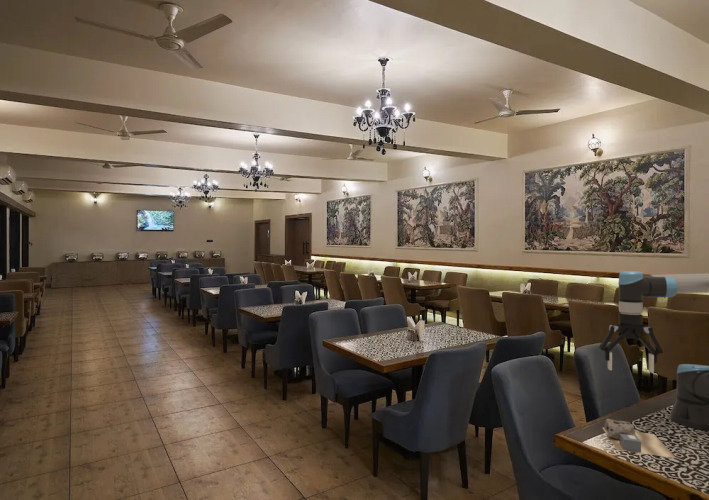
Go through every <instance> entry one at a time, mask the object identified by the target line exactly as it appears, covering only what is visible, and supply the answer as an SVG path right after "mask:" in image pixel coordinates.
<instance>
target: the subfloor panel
mask: <svg viewBox="0 0 709 500" xmlns="http://www.w3.org/2000/svg"><path fill="white" fill-rule="evenodd" d="M601 429H603V432H605V435H606V436H607V438H608V439H609V440H610V441H611V443H612V445H613V446H614V448H615V449H616V451H624V452H630V453H636V454H637V453H638V454H645V455H652V456H657V457H663V458H664V457H665V458H670V459H671V458H673V459H677V457H676V455H674V454H673V453H672V452H671V450H669V449H668V447H667V446H666V445H665V444H664V443H663V442H662V440H660V439H659V438H658V437H657V435H655V434H654V433H649V432H648V433H647V432H640V431H635V434H636V436H637V437H638V438H639V440H640V441H641V452H634V451H627V450H623V448H622V447H621V445H620V444H619V441H620V439H615V438H612V437H610V436H609V435H608V433H609V431H608V430H605V429H604V427H603V426H602V427H601Z"/></svg>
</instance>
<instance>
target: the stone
mask: <svg viewBox="0 0 709 500" xmlns="http://www.w3.org/2000/svg"><path fill="white" fill-rule="evenodd" d="M604 429H605V430H608V431H609V433H608V435H609V436H610V437H612V438H615V439H620V434H626V435H633V436H636V434H635V432H636V430H635V427H634V425H633V424H631V422H629V421H624V420H615V419H610V418H606V420H605V421H604ZM604 429H603V430H604Z"/></svg>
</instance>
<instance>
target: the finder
mask: <svg viewBox="0 0 709 500" xmlns="http://www.w3.org/2000/svg"><path fill="white" fill-rule="evenodd" d="M619 444H620V445H621V447H622V448H623V450H627V451H626V452H629V451H634V452H633V453H636V452H641V441H640V440H639V438H638V437H637V436H633V435H626V434H620V441H619Z"/></svg>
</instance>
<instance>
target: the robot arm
mask: <svg viewBox="0 0 709 500" xmlns="http://www.w3.org/2000/svg"><path fill="white" fill-rule="evenodd" d="M617 285H618V311H619V313H618V326H617V325H612V324H609V325H608V331H607V332H606V334H605V336H604V338H603V339H602V341H601V343H600V345H599V347H598V348H599V349H600V350H601V351H603V352H604V360H605V361H607V370H609V371H613V352H612V350H613V349H614V347H616V346H617V345H618V344H619V343H620V342H621V341H623V340H624V338H625V339H628V340H630V339H632V340H636V339H637V340H639V341H640V342H641V343H642V344H643V345H644V347H646V348H647V350H648V351H649V353H648V372H649V373H651V374H655V364H657V362H658V361H657V360H658V355H659V354H663V353H664V351H663V349H662V347H661V345H660V343H659V342H658V339H657V338H656V336H655V334H654V329H653V328H652V327H651V326H643V325H644V324H643V323H644V322H643V321H644V319H643V314H642V313H643V310H644V308H643V306H644V305H643V302H644V298H664V299H667V298H673V297H675V296H676V295H677V294H695V293H696V294H699V293H701V294H703V293H709V273H674V274H673V273H671V274H669V273H668V274H666V273H665V274H643V272H642V271H634V270H633V271H630V270H629V271H628V270H627V271H625V270H624V271H621V272H620V273H619V275H618V284H617ZM616 331H618V332H619V333H617V335H616V336H615V338H613V339H612V337H613V335H614V333H616ZM642 333H646V334H647V336H648V338H649V339H650V342H651V343H652V344H650V343H649V342H648V340H647V339H645V337H644V336H643V335H642ZM611 339H612V340H611ZM610 341H611V342H610ZM652 345H653V346H652ZM675 396H676V397H675V402H674V404H673V406H672V409H671V411H670V415H669V416H670V420H671V421H673V422H675V423H677V424H679V425H682V426H685V427H688V428H692V429H698V430H702V431H703V430H706V431H709V365H705V364H703V365H702V364H691V363H682V364H679V365H678V366H677V371H676V395H675Z"/></svg>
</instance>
